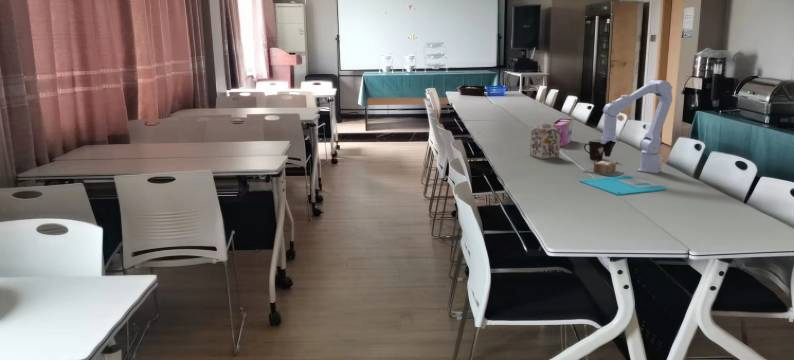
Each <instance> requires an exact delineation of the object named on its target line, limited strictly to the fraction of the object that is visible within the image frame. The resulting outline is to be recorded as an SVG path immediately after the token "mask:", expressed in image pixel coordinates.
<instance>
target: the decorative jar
mask: <svg viewBox="0 0 794 360" xmlns="http://www.w3.org/2000/svg"><path fill="white" fill-rule="evenodd" d="M560 135H561V134H560V132H559V130H558V129H557V128H555V127H553V126H552V124H551V123H550V122H549V123H547V122H545V123H541V125H540V126H538V125H537V126H535V127H533V129H532V130H531V132H530V142H529V143H530V144H529V156H531V157H535V158H537V159H540V160H544V159H545V160H546V159H554V158H555V159H556V158H560V150H561V146H560Z"/></svg>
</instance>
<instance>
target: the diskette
mask: <svg viewBox="0 0 794 360" xmlns="http://www.w3.org/2000/svg"><path fill="white" fill-rule="evenodd" d="M579 183H582V184H584V185H587V186H590V187H593V188H596V189H599V190H600V191H604V192H607V193H609V194H612V195H615V196H626V195H635V194H644V193H654V192H662V191H666V190H667V187H666V186H663V185H660V184H657V183H654V182H652V181H648V180H644V179H641V178H638V177H634V176H631V175H618V176H616V177H614V176H609V177H607V176H606V177H599V178H588V179H580V180H579Z"/></svg>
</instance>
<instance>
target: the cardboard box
mask: <svg viewBox="0 0 794 360" xmlns="http://www.w3.org/2000/svg"><path fill="white" fill-rule="evenodd" d="M593 168H594V171H593V172H598V173H605V174H609V173H611V172H613V171H617V170H616V169H617V162H616V161H609V160H599V161H598V162H594V163H593Z"/></svg>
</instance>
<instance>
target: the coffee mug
mask: <svg viewBox="0 0 794 360" xmlns="http://www.w3.org/2000/svg"><path fill="white" fill-rule="evenodd" d="M587 145H588V146H589V147H588V148H589V149H588V150H589V151H588V150H587V149H586V146H587ZM583 149H584V151H585V152H586V153H587V154H589V160H592V161H603V157H604V149H603V146H602V144H601V138H600V139H599V138H591V139H589V140H588V143H585V144H584V147H583Z"/></svg>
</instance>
